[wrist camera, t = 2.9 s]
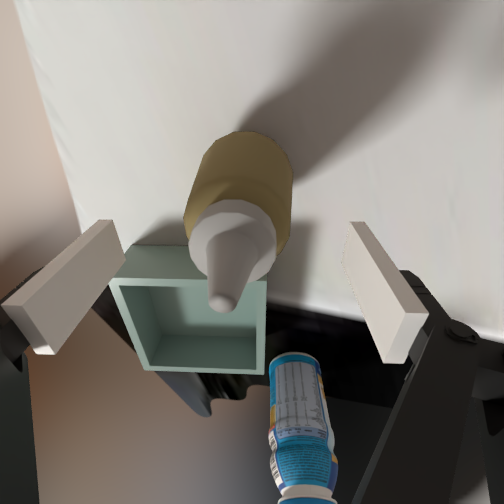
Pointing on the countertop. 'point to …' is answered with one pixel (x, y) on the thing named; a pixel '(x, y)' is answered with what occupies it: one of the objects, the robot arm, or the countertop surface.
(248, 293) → the box
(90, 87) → the countertop surface
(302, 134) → the countertop surface
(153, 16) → the countertop surface
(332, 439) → the beverage bottle
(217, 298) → the squeeze bottle
